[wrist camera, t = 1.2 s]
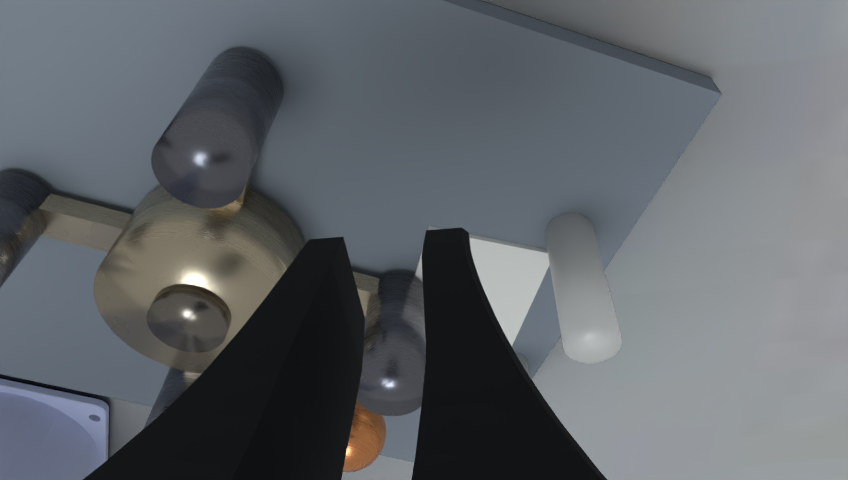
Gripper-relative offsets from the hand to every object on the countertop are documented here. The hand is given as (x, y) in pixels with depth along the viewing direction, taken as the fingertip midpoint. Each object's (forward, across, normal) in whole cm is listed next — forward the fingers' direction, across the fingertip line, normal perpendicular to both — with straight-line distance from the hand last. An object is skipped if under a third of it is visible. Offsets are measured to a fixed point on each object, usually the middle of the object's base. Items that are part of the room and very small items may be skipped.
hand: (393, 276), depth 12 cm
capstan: (+9, +8, +6) cm, 13 cm away
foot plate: (+10, +7, +6) cm, 14 cm away
